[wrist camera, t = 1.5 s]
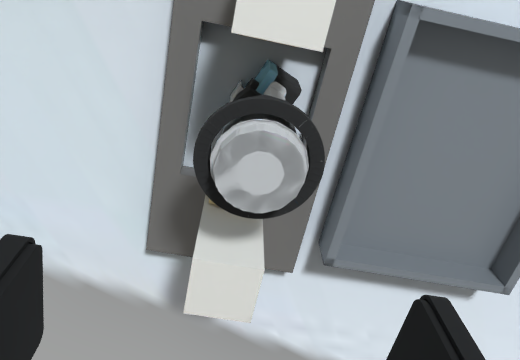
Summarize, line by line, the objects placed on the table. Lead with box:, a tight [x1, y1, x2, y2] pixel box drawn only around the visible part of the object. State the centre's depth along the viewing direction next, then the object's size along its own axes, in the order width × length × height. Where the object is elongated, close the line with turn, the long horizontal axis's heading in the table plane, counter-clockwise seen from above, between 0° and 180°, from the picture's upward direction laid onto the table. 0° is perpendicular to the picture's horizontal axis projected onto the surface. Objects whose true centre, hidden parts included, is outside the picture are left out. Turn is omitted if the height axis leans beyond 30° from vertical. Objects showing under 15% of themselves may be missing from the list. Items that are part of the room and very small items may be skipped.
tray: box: [319, 0, 520, 295], centre depth 26 cm, size 13×16×2 cm
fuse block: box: [146, 0, 375, 323], centre depth 22 cm, size 10×21×8 cm, turn 168°
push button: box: [193, 60, 325, 219], centre depth 21 cm, size 7×5×10 cm
